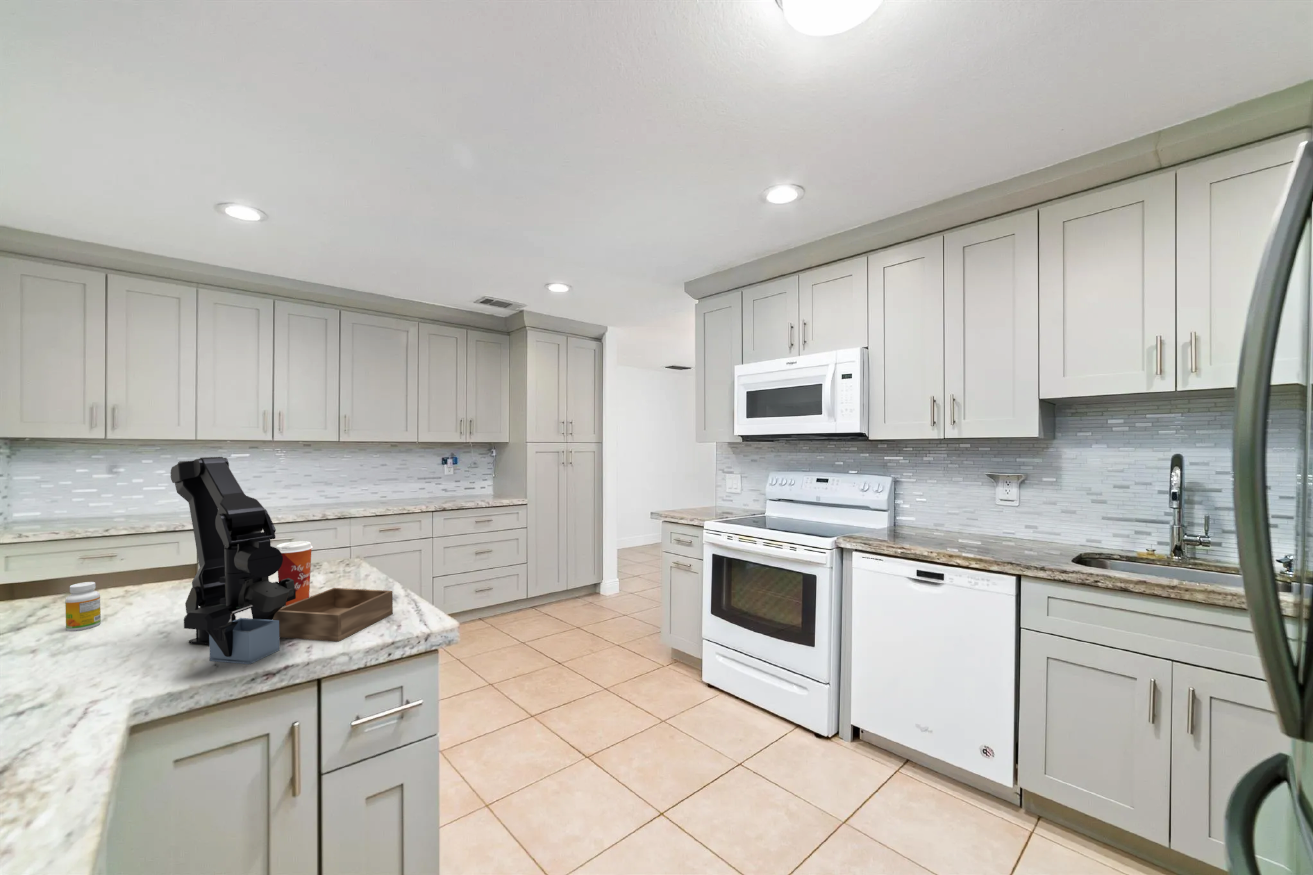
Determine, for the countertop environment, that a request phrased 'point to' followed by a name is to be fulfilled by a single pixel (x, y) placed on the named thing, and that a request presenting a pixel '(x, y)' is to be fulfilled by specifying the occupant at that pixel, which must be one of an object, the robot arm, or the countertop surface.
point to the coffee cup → (296, 567)
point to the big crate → (334, 614)
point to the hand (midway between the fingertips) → (245, 649)
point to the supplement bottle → (82, 607)
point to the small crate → (249, 641)
